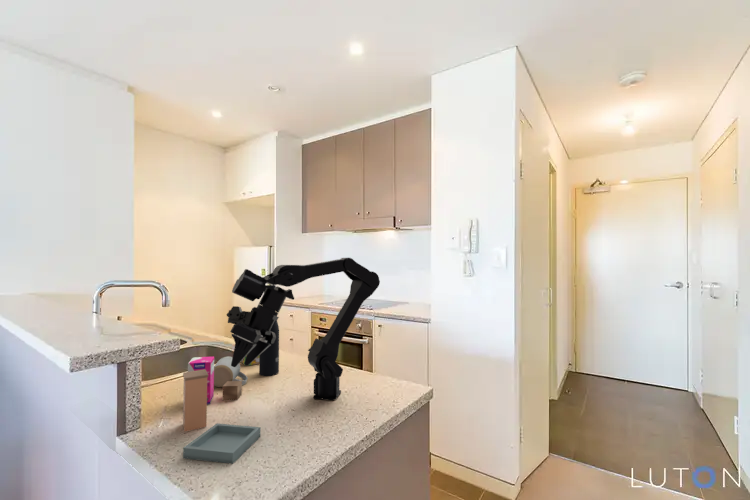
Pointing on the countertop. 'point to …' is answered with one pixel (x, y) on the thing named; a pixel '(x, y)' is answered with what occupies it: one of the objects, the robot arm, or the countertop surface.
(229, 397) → the walnut block
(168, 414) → the countertop surface
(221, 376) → the ceramic mug
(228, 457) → the slate tray
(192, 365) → the supplement box
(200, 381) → the tan lidded box
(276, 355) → the wine bottle
